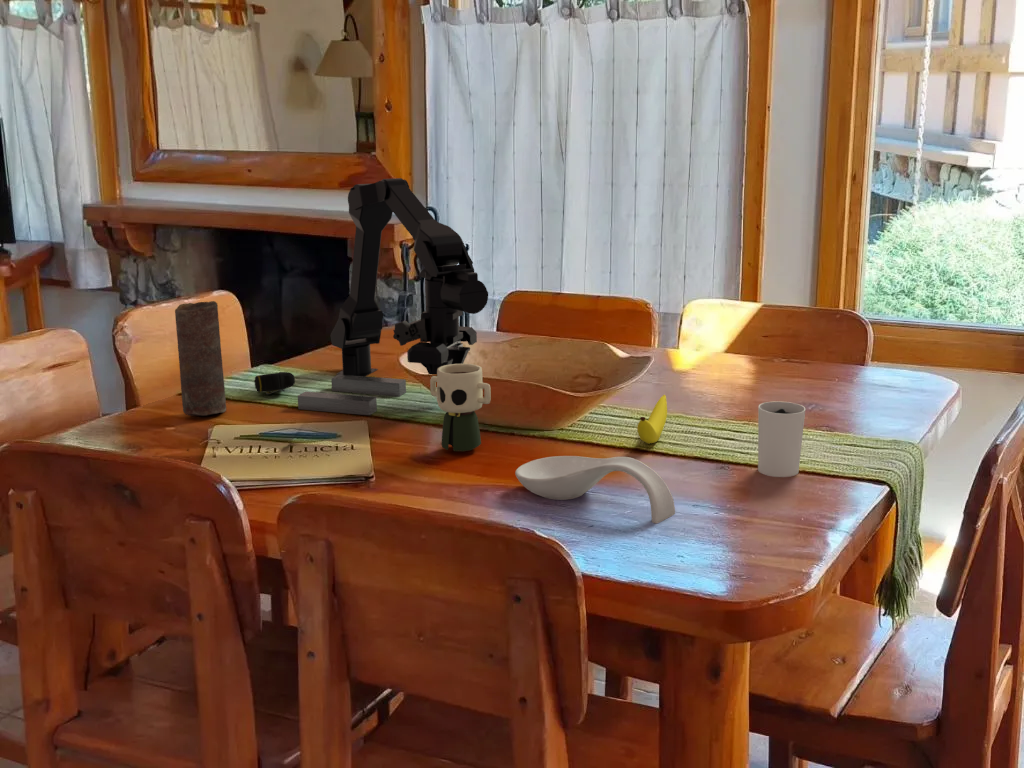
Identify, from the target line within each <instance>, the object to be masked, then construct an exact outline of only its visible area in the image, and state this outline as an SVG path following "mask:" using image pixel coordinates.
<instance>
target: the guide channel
mask: <svg viewBox="0 0 1024 768" xmlns="http://www.w3.org/2000/svg"><path fill="white" fill-rule="evenodd" d="M330 383H331V391H332V392H338V391H339V392H340V393H339V392H338V393H329V392H315V391H304V392H302V393H300V394H298V395H297V406H298V407H297V408H298V410H304V411H305V410H306V411H313V412H314V411H316V412H326V413H327V412H329V413H337V414H339V413H340V414H348V415H349V414H351V415H362V416H372V414H374V413H376V412H377V411H378V403H377V396H379V395H380V396H391V397H401V396H403V395H404V394H406V393H407V380H406V379H402V378H390V377H379V376H378V377H376V376H366V377H365V376H352V375H335V376H333V377H331V379H330ZM351 392H352V394H344V393H351ZM341 393H343V394H341ZM353 393H355V394H365V395H354V394H353ZM366 395H367V396H366ZM368 395H377V396H368Z"/></svg>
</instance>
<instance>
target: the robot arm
mask: <svg viewBox="0 0 1024 768" xmlns="http://www.w3.org/2000/svg"><path fill="white" fill-rule="evenodd" d="M347 203H348V214H349V217H351V220H352V221H353V223H354V225H355V232H354V233H355V234H354V248H353V256H352V267H351V279H350V287H349V288H350V289H349V290H350V291H349V296H348V297H347V298H346V300H344V302H343V303H342V305H341V306H340V307H339V313H338V318H337V321H336V323H335V325H334V327H333V329H332V331H331V332H330V342H331V345H332V346H334V347H336V348H338V349H341V360H342V362H341V363H342V370H341V371H338V372H337V373H335V374H336V375H335V376H337V375H352V376H365V377H368V376H369V375H371V374H373V373H374V372H376V371H378V370H379V369H378V368H376V367H375V368H372V359H371V357H372V356H371V345H374V344H378V345H379V344H380V342H381V336H382V330H383V317H384V313H383V310H381V309H380V307H379V305H378V304H377V302H376V290H377V282H378V281H377V279H378V270H379V269H378V268H379V262H380V261H379V260H380V252H381V251H380V250H381V241H382V232H383V230H384V229H385V228H386V226H387V225H388V224H389V222H390V221H391V220H392V218H393V214H394V215H395V216H396V218H397V219H398V220H399V222H400V223H401V224H402V225H403V227H404V228H405V229H406V230H407V232H408V233H409V235H410V236H411V237H412V239H413V241H414V246H413V251H414V253H415V254H416V256H417V258H418V260H419V262H420V264H421V265H422V266H423V267H424V268H423V269H422V270H420V272H419V277H420V278H424V282H425V283H424V285H425V286H424V289H425V311H423V312H421V313H420V319H417V320H413V321H411V322H408V321H407V320H402V321H400V322H396V323H394V329H393V336H392V337H393V339H394V340H396V341H398V343H399V345H400V346H401V347H402V346H406V345H407V343H411V342H413V341H417V340H419V342H417V343H415V344H413V345H412V346H410V348H409V349H407V352H406V354H407V357H406V358H407V362H408V363H410V364H411V363H413V364H421V365H422V366H423V367H424V368H425V369H426V372H427V373H428V375H429V374H437V369H438V368H439V367H441V366H444V365H450V364H465V363H464V362H465V360H466V358H467V356H468V353H469V352H470V350H471V347H469V346H473V345H474V344H476V343H478V341H477V340H478V339H477V338H478V335H477V331H476V330H475V328H473V327H472V326H461V325H460V317H461V316H463V315H464V314H463V313H466V314H472V315H474V314H478V313H480V312H481V311H483V310H484V309H485V307H486V306H487V304H488V301H489V291H488V289H487V287H486V285H485V284H484V282H483V281H480V280H479V277H478V275H479V274H478V272H475V268H474V265H473V264H474V262H473V261H472V258H471V257H470V254H469V253H468V251H467V248H466V245H465V243H464V241H463V239H462V237H461V236H460V234H459V233H458V232H456V231H455V229H453V228H452V227H451V226H449V225H446V224H444V223H441V222H439V221H437V220H436V219H435V217H433V216H432V215H431V213H430V212H429V211H428V210H427V208H426V207H425V206H424V205H423V203H422V202H421V200H419V198H418V197H417V196H416V194H415V193H413V191H412V190H411V188H410V185H409V182H408V181H407V180H406V179H405V178H404V179H403V178H401V177H398V178H383V179H381V180H378V181H376V182H372V183H358V184H354V185H353V186H352V187H351V188H350V189H349V192H348V193H347ZM463 342H467V344H468V345H469V346H464V343H463Z"/></svg>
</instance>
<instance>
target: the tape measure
mask: <svg viewBox="0 0 1024 768" xmlns="http://www.w3.org/2000/svg"><path fill="white" fill-rule="evenodd" d="M295 378H296V377H295V375H294V374H293V373H292V372H288V371H279V372H273V373H266V374H259V375H255V377H254V382H253V383H254V387H255V390H256V391H257V392H258V393H265V395H271V394H273V393H275V392H279V391H282V392H285V390H286V389H289V388H292V387H293V386H294V385H295V382H296V380H295Z"/></svg>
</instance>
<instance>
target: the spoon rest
mask: <svg viewBox="0 0 1024 768" xmlns="http://www.w3.org/2000/svg"><path fill="white" fill-rule="evenodd" d="M612 472H623V473H626V474H627V475H630V476H632V477H633V478H635V479H636V480H637V481H638V482H639V483H640V484H641V486H643V487H644V489H645V491H646V493H647V495H648V499H649V503H650V505H649V506H650V514H651V517H650V518H651V523H653V524H659V523H661V522H663V521H665V520H667V519H669V518H670V517H672V516H674V515H675V514H676V508H675V507H676V506H675V501H674V498H673V495H672V493H671V490H670V488H669V487H668V485H667V483H666V482H665V480H664V479H663V478H662V477H661V476H660V474H658V472H656V471H655V470H654V469H653V468H651V467H650V466H648V465H647V464H645V463H644V462H642V461H640V460H638V459H636V458H633V457H630V456H629V457H628V456H614V457H606V458H605V457H604V458H599V457H598V458H596V457H587V456H578V455H558V456H557V455H556V456H555V455H554V456H547V457H542V458H537V459H533V460H531V461H528V462H526V463H523V464H522V465H520V466H518V468H517V469H516V470H515V473H514V474H515V477H516V478H517V479H518V482H519V483H521V485H522V486H523V487H524V488H525V489H526V490H528V491H529V492H531V493H532V494H535V495H537V496H540V497H542V498H545V499H549V500H561V501H565V500H566V501H567V500H572V499H576V498H580V497H581V496H583V495H584V494H586V493H587V492H589V491H590V490H591V489H592V488H593V487H594V486H595V485H596V484H598V483H599V482H600V481H601V480H602V479H603V478H604V477H606V476H607V475H609V474H610V473H612Z"/></svg>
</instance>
